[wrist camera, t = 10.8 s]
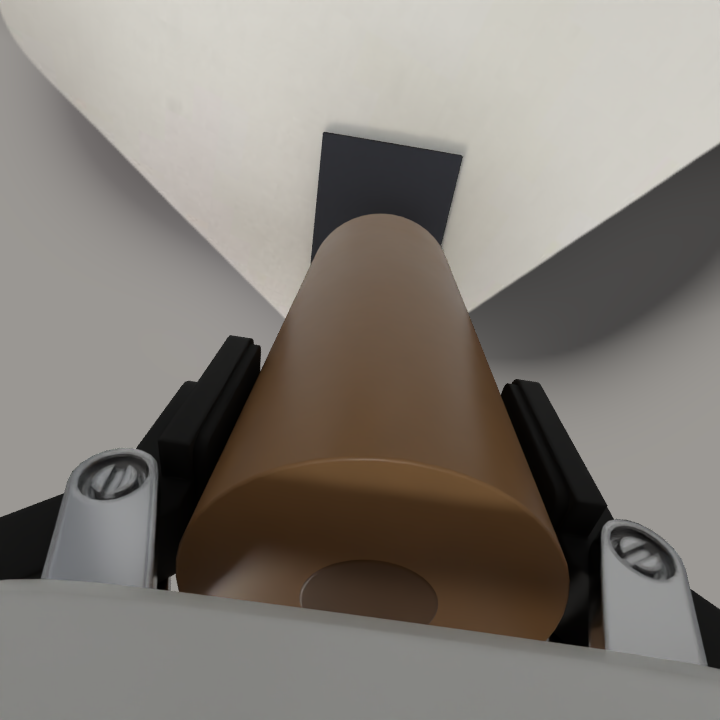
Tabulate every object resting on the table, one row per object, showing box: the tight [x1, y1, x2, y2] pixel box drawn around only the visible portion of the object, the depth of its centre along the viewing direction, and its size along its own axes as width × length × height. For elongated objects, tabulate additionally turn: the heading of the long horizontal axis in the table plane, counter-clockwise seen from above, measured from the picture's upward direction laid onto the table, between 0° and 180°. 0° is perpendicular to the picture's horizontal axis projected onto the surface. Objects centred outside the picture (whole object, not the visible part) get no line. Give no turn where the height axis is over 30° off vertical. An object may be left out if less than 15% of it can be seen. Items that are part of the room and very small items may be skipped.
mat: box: [310, 132, 463, 266], centre depth 34 cm, size 10×10×1 cm
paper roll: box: [176, 214, 570, 641], centre depth 13 cm, size 6×6×14 cm
